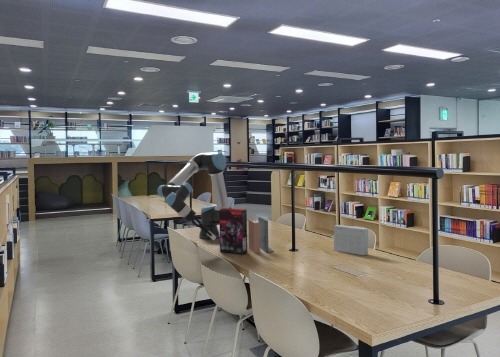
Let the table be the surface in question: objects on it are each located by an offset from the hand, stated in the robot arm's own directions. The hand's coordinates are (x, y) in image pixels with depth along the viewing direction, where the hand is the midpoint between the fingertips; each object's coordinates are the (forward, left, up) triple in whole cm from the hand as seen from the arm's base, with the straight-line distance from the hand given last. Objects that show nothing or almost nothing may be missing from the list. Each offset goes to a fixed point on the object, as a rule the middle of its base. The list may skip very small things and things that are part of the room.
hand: (214, 238), depth 245 cm
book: (0, +25, -10) cm, 27 cm away
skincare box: (+24, +80, -10) cm, 84 cm away
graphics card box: (0, +12, -10) cm, 15 cm away
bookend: (0, +33, -10) cm, 35 cm away
